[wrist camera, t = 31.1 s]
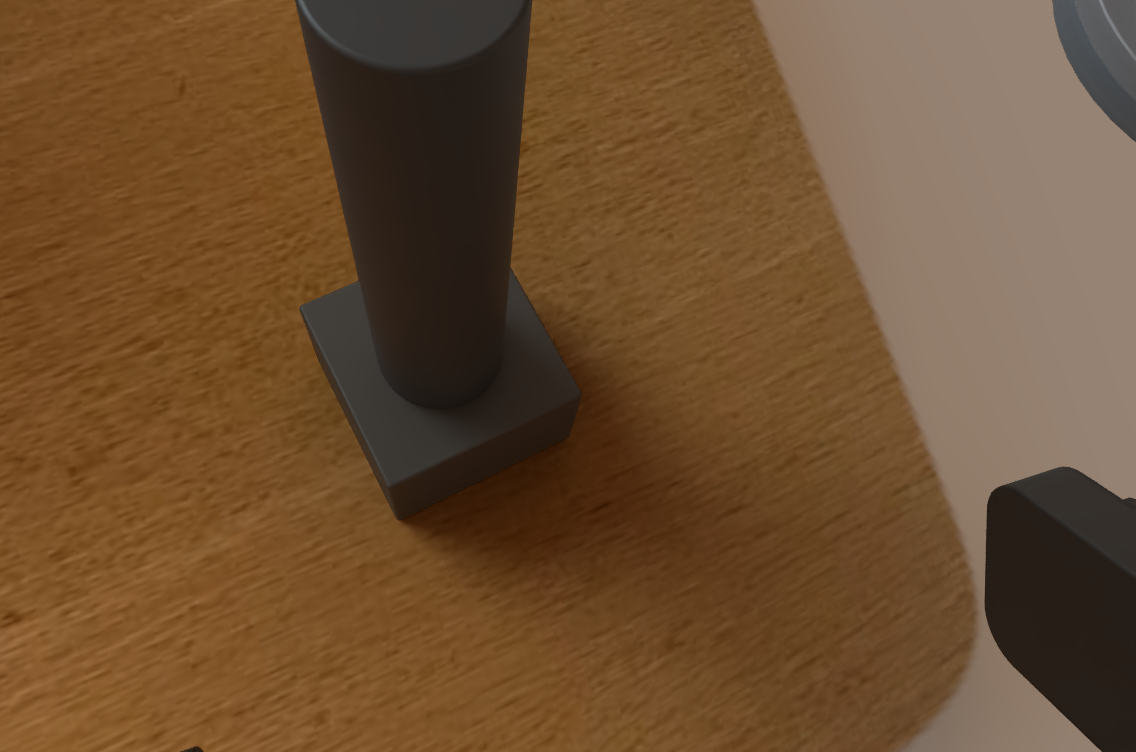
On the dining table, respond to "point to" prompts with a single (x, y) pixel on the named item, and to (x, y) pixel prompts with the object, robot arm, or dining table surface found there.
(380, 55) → the grey peg on base
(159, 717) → the dining table surface
